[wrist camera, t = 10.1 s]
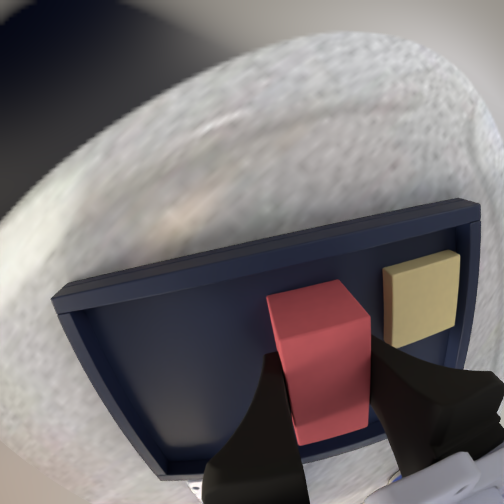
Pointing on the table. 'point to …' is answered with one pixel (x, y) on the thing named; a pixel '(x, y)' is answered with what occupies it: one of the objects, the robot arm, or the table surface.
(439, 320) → the beige square tile
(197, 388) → the tray
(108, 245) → the table surface
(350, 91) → the table surface
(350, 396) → the eraser
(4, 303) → the table surface
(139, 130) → the table surface
